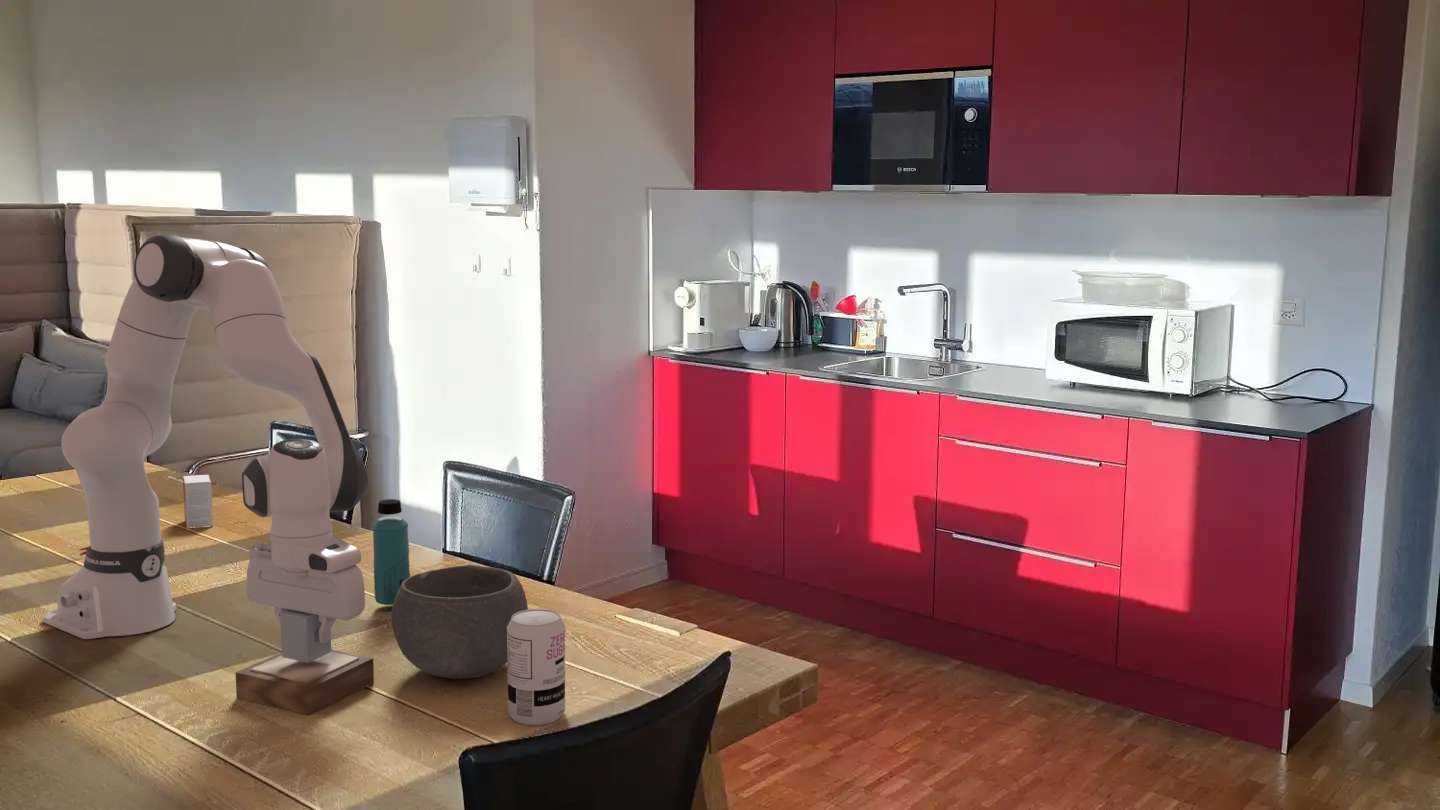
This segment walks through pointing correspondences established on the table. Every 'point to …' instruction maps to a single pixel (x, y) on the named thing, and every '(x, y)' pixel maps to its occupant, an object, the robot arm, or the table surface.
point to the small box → (197, 501)
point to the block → (301, 636)
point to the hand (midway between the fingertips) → (305, 638)
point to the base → (304, 681)
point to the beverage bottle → (390, 552)
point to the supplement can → (536, 667)
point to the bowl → (457, 619)
